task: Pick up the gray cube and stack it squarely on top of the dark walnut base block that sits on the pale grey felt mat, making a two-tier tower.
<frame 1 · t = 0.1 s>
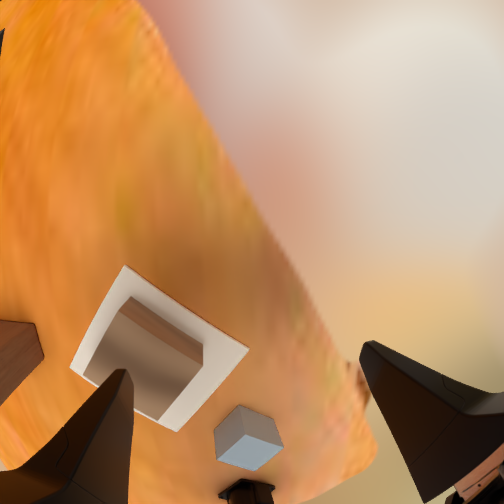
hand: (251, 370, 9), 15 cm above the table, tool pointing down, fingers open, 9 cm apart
wooden block: (15, 337, 21), on the table
gray cube: (243, 425, 27), on the table
felt mat: (150, 361, 24), on the table
walnut base: (146, 351, 23), resting on felt mat
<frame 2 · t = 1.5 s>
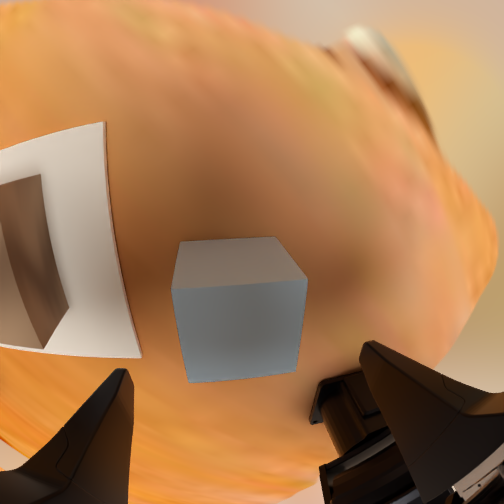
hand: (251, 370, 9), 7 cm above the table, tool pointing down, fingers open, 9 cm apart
gray cube: (229, 281, 15), on the table
felt mat: (23, 261, 12), on the table
walnut base: (6, 250, 11), resting on felt mat
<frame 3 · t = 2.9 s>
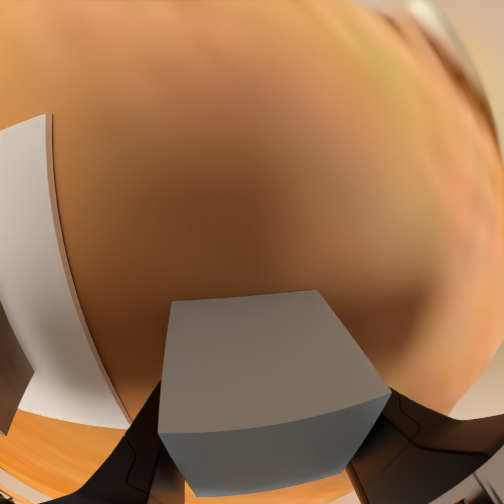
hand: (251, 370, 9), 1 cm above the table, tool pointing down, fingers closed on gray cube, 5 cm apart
gray cube: (247, 351, 10), on the table, touching gripper
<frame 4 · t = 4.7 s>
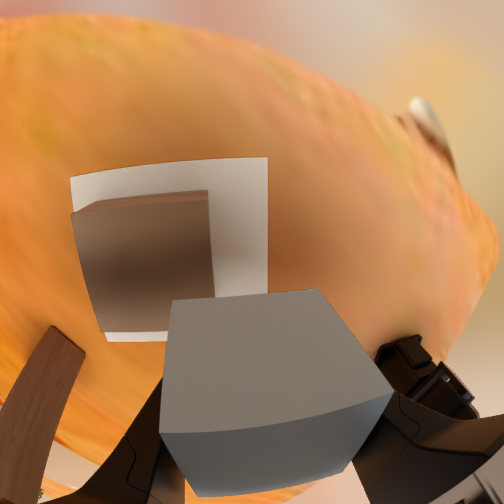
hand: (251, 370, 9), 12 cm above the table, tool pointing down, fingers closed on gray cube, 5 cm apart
wooden block: (54, 357, 21), on the table
gray cube: (248, 350, 10), point 11 cm above the table, touching gripper
felt mat: (171, 260, 19), on the table
walnut base: (155, 250, 18), resting on felt mat
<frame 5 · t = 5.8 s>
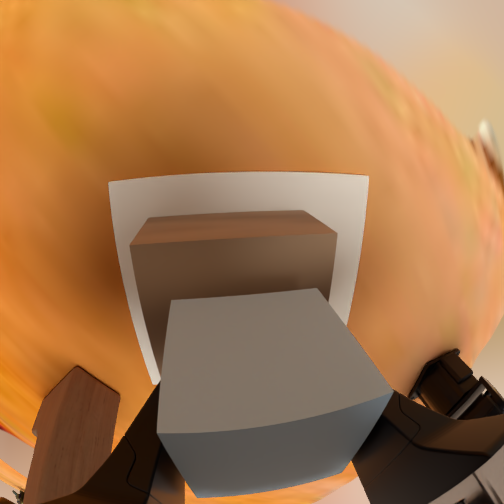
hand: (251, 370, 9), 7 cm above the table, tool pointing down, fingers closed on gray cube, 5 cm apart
wooden block: (78, 396, 17), on the table
gray cube: (247, 350, 10), point 6 cm above the table, touching gripper
felt mat: (246, 294, 16), on the table
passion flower: (31, 493, 34), on the table
walnut base: (229, 283, 15), resting on felt mat
when the fingers open (6 cm above the table, at t = 6.7 s): gray cube drops 1 cm, resting on walnut base.
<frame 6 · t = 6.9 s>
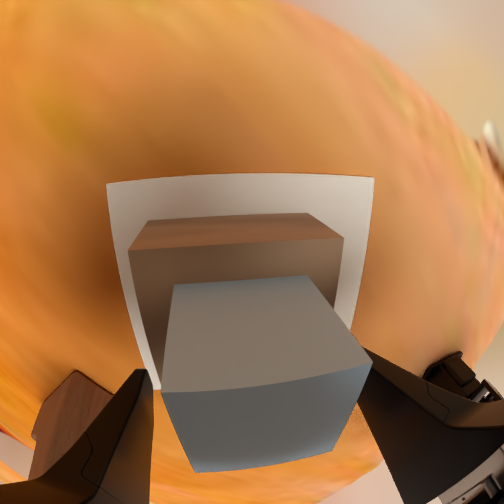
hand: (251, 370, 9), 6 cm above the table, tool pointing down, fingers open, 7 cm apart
wooden block: (77, 400, 17), on the table
gray cube: (243, 333, 11), point 4 cm above the table, touching walnut base
felt mat: (248, 298, 15), on the table
walnut base: (231, 288, 15), resting on felt mat, touching gray cube
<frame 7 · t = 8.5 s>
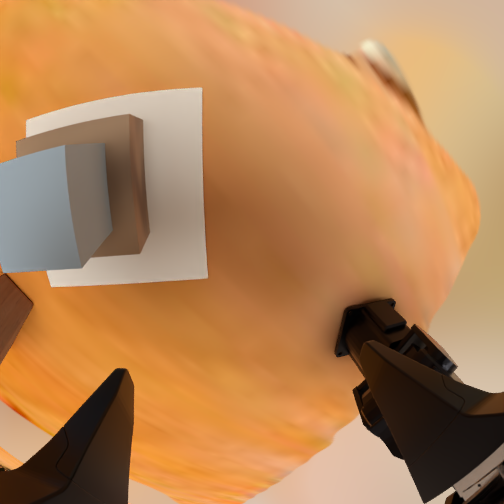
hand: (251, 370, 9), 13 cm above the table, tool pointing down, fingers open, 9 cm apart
wooden block: (8, 311, 19), on the table
gray cube: (70, 192, 13), point 4 cm above the table, touching walnut base
felt mat: (108, 194, 17), on the table
walnut base: (92, 183, 16), resting on felt mat, touching gray cube
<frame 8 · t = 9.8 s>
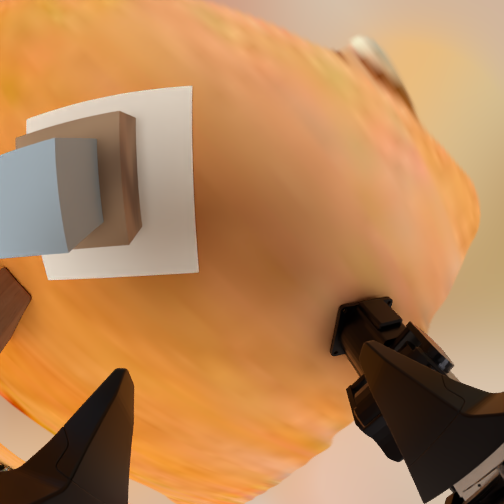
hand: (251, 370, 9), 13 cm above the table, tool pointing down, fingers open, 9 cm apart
wooden block: (7, 304, 19), on the table
gray cube: (64, 186, 13), point 4 cm above the table, touching walnut base
felt mat: (102, 189, 18), on the table
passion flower: (7, 466, 36), on the table
walnut base: (88, 179, 17), resting on felt mat, touching gray cube
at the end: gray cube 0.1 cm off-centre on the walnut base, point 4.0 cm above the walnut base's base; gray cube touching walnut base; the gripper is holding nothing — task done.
